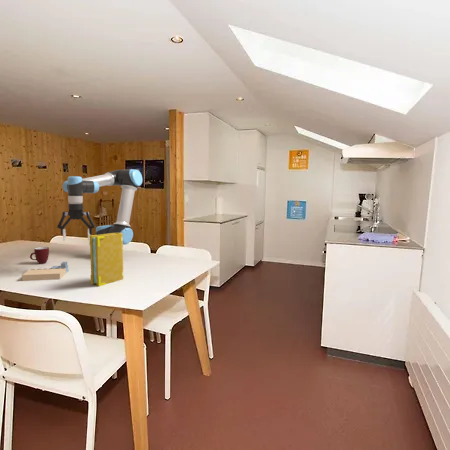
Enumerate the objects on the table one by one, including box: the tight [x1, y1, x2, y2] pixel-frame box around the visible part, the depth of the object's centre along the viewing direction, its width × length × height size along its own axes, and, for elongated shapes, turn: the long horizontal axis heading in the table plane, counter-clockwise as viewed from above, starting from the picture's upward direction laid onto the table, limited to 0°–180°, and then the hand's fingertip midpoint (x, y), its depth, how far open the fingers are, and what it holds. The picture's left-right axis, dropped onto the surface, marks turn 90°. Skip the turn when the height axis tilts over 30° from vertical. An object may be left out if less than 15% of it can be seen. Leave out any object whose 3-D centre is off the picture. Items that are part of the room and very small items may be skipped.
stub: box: [49, 261, 69, 273], centre depth 178 cm, size 8×5×5 cm
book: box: [88, 233, 124, 287], centre depth 161 cm, size 17×7×25 cm, turn 148°
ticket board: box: [21, 268, 67, 282], centre depth 168 cm, size 18×12×3 cm, turn 104°
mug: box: [29, 246, 50, 265], centre depth 198 cm, size 10×8×10 cm
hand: (76, 240), depth 179 cm, fingers open, 12 cm apart
